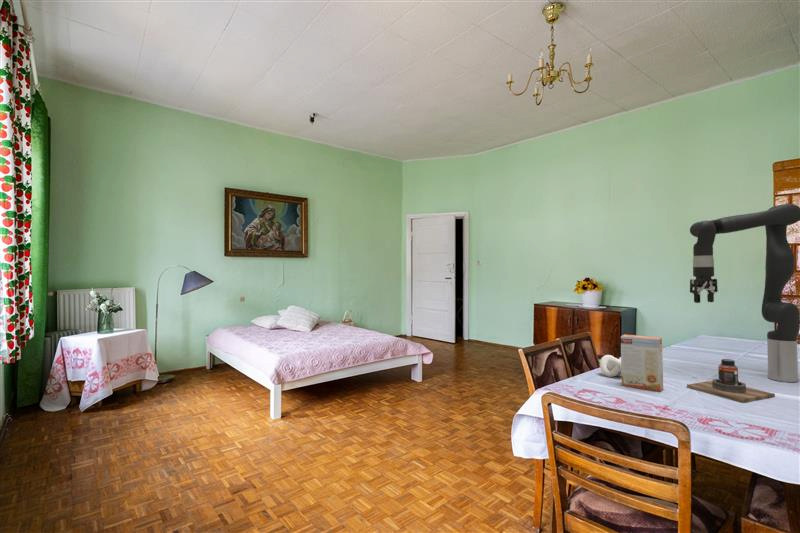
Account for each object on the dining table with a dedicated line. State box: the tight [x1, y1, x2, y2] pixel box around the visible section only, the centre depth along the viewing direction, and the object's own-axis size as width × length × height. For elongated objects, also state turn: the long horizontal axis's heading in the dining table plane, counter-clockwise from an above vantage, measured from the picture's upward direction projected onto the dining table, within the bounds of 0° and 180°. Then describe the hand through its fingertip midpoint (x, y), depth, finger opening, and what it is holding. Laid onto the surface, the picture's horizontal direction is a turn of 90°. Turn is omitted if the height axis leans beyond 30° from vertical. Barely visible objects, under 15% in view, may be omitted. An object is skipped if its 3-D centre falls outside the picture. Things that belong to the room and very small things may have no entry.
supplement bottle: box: [718, 358, 739, 386], centre depth 156 cm, size 6×6×11 cm
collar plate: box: [686, 378, 776, 404], centre depth 156 cm, size 18×20×4 cm
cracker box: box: [620, 333, 664, 392], centre depth 164 cm, size 14×6×21 cm, turn 47°
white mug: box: [599, 354, 622, 378], centre depth 180 cm, size 11×12×9 cm
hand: (704, 302), depth 177 cm, fingers open, 8 cm apart
